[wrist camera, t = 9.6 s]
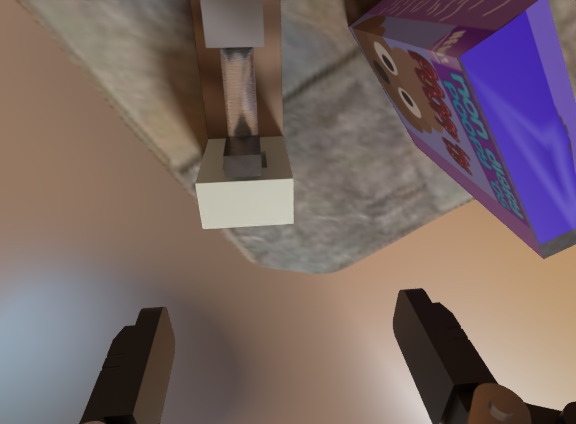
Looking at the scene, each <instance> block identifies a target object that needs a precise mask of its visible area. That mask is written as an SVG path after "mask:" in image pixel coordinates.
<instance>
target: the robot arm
mask: <svg viewBox="0 0 576 424" xmlns="http://www.w3.org/2000/svg"><path fill="white" fill-rule="evenodd" d="M393 330H394V334H395V337H396V340H397V342H398V345H399V347H400V349H401V352H402V354H403V356H404V359H405V361H406V363H407V366H408V367H409V370H410V373H411V375H412V377H413V379H414V382H415V384H416V387H417V389H418V391H419V394H420V396H421V398H422V401H423V403H424V405H425V407H426V410H427V412H428V414H429V417H430V419H431V421H432V424H576V402H571V403H569V404H567V405H566V406H565V408H564V409H563V411H559V410H554V409H549V408H545V407H540V406H536V405H531V404H528V403H525V402H523V400H522V399H521V398H520V397H519V396H518V395H517V394H515V393H514V392H513V391H511V390H510V389H508V388H506V387H504V386H501V385H499V384H498V383H497V381H496V380H495V379H494V377H493V375H492V374H491V373H490V371H489V369H488V368H487V366H486V365H485V363H484V361H483V360H482V358H481V357H480V356H479V354H478V352H477V351H476V349H475V347H474V346H473V345H472V343H471V342H470V340H468V337H467V335H466V334H465V332H464V330H463V329H461V326H460V324H459V323H458V321H457V320H456V318H455V317H454V315H453V313H452V312H450V311H449V310H448V309H447V308H446V307H444V306H443V305H442V304H441V303H440V302H438V303H432V302H431V300H430V298H429V297H428V295H427V294H426V292H425V291H424V290H423V289H422V288H419V289H406V290H400V291H399V293H398V298H397V303H396V307H395V313H394V317H393ZM174 354H175V337H174V333H173V330H172V326H171V322H170V318H169V314H168V310H167V308H166V307H156V308H143V309H141V311H140V313H139V316H138V319H137V321H136V325H133V326H125V327H124V328H123V329H122V330H121V331H120V332H119V334H118V335H117V336H116V337H115V338H114V339H113V341H112V344H111V346H110V349H109V351H108V354H107V358H106V359H105V362H104V364H103V366H102V371H100V374H99V376H98V379H97V381H96V384H95V386H94V389H93V391H92V394H91V396H90V399H89V401H88V404H87V406H86V409H85V411H84V414H83V416H82V419H81V421H80V423H79V424H160V421H161V416H162V411H163V407H164V401H165V398H166V392H167V387H168V383H169V379H170V373H171V369H172V364H173V359H174Z"/></svg>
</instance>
